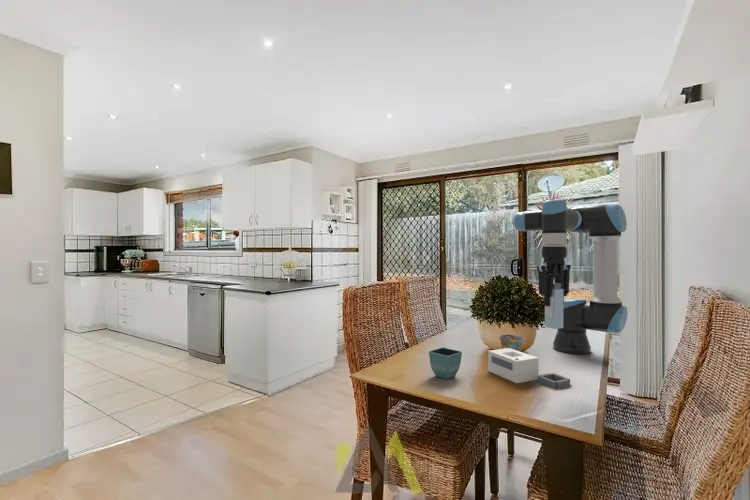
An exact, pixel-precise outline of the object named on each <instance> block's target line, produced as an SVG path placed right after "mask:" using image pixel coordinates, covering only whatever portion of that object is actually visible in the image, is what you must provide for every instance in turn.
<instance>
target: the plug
mask: <svg viewBox="0 0 750 500" xmlns="http://www.w3.org/2000/svg"><path fill="white" fill-rule="evenodd" d="M551 297H553V317H550V316H545V315H544V327H545V328H550V329H554V330H557V329H559V328H563V289H561V283H555V281H553V287H552V294H551Z"/></svg>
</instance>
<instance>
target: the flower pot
mask: <svg viewBox="0 0 750 500" xmlns="http://www.w3.org/2000/svg"><path fill="white" fill-rule="evenodd" d="M428 354H429V355H428V358H429V365H430V367H431V370H432V372H433V374H434V376H436V377H439V378H442V379H445V380H448V379H451V378H454V377H455V376H456V375H457V373H458V372H459V369H460V367H461V362H462V355H463V351H460V350H456V349H451V348H447V347H439V348H435V349H432V350H429V351H428Z"/></svg>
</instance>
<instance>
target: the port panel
mask: <svg viewBox="0 0 750 500" xmlns="http://www.w3.org/2000/svg"><path fill="white" fill-rule="evenodd" d="M487 355H488V356H487V357H488V358H487V361H488V362H487V363H488V367H487V369H488V370H487V371H488V372H489V373H493V374H494V375H497V376H499V377H501V378H504V379H506V380H508V381H511V382H513V383H515V384H520V383H525V382H531V381H538V376H539V375H540V374H539V366H540V364H539V362H540V361H539V359H540V358H539V357H537V356H535V355H532V354H528V353H525V352H522V351H521V350H520V351H517V350H514V349H511V348H505V349H502V348H498V349H491V350H488V351H487Z"/></svg>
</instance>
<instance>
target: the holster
mask: <svg viewBox="0 0 750 500" xmlns="http://www.w3.org/2000/svg"><path fill="white" fill-rule="evenodd" d="M535 382H537V383H539V384H541V385H543V386H547V387H549V388H551V389H554V390H558V389H564V388H568V387H573V384H571V378H569V377H566V376H564V375H563V376H562V375H560V374H558V373H554V372H553V373H551V372H547V373H543V374H538V379H537V380H535Z"/></svg>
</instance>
